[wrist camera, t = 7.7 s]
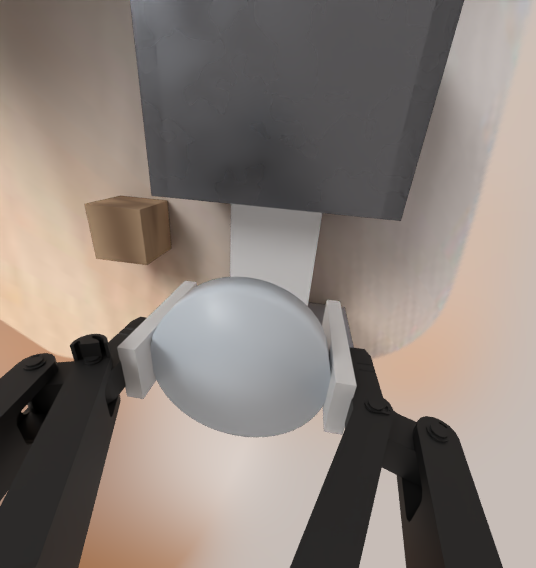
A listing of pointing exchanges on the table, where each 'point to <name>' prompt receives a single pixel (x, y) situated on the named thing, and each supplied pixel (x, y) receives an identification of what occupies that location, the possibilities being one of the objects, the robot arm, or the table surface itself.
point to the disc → (242, 357)
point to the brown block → (129, 229)
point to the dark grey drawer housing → (290, 99)
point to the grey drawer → (278, 250)
